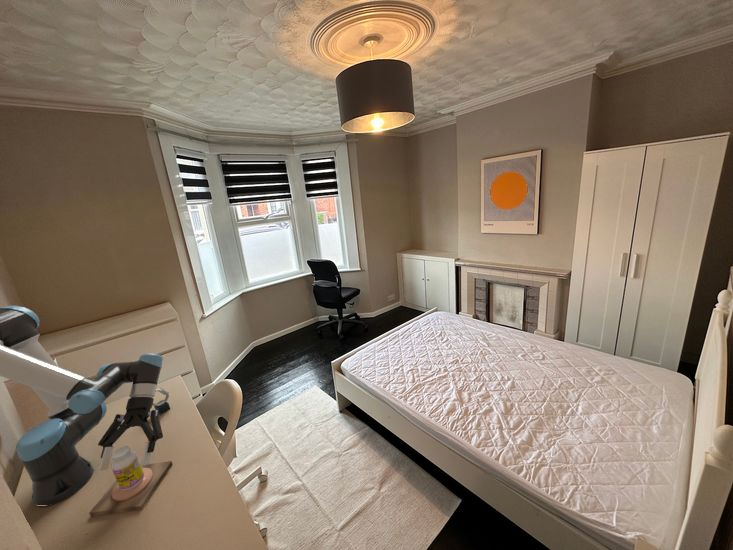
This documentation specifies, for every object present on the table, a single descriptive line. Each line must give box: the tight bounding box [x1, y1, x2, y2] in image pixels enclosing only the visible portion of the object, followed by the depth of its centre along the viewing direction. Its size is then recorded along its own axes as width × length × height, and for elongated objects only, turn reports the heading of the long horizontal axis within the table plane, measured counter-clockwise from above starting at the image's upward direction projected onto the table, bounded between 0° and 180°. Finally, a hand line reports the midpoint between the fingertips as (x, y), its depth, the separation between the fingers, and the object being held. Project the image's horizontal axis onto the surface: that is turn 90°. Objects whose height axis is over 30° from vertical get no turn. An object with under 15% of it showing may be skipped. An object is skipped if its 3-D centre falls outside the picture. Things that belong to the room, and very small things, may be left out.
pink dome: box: [112, 468, 153, 501], centre depth 98 cm, size 11×11×1 cm
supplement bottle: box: [110, 445, 144, 491], centre depth 96 cm, size 7×7×13 cm
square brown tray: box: [88, 460, 173, 517], centre depth 99 cm, size 16×16×2 cm
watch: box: [152, 387, 171, 415], centre depth 137 cm, size 6×8×11 cm
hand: (123, 467), depth 95 cm, fingers open, 13 cm apart
